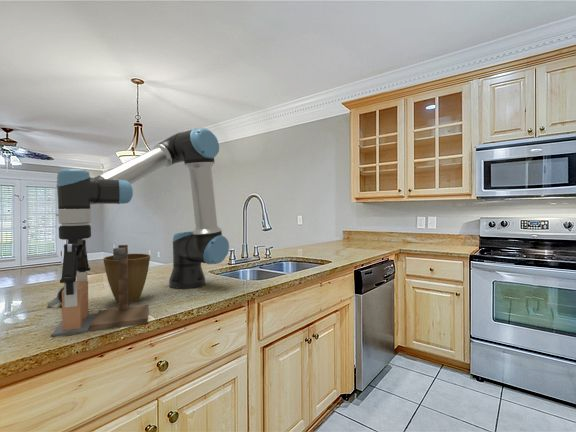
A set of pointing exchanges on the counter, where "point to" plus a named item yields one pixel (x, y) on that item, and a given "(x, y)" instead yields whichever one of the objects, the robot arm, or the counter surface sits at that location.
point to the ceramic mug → (57, 299)
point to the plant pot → (135, 275)
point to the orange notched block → (76, 308)
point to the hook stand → (121, 301)
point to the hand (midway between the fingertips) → (77, 299)
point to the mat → (83, 329)
